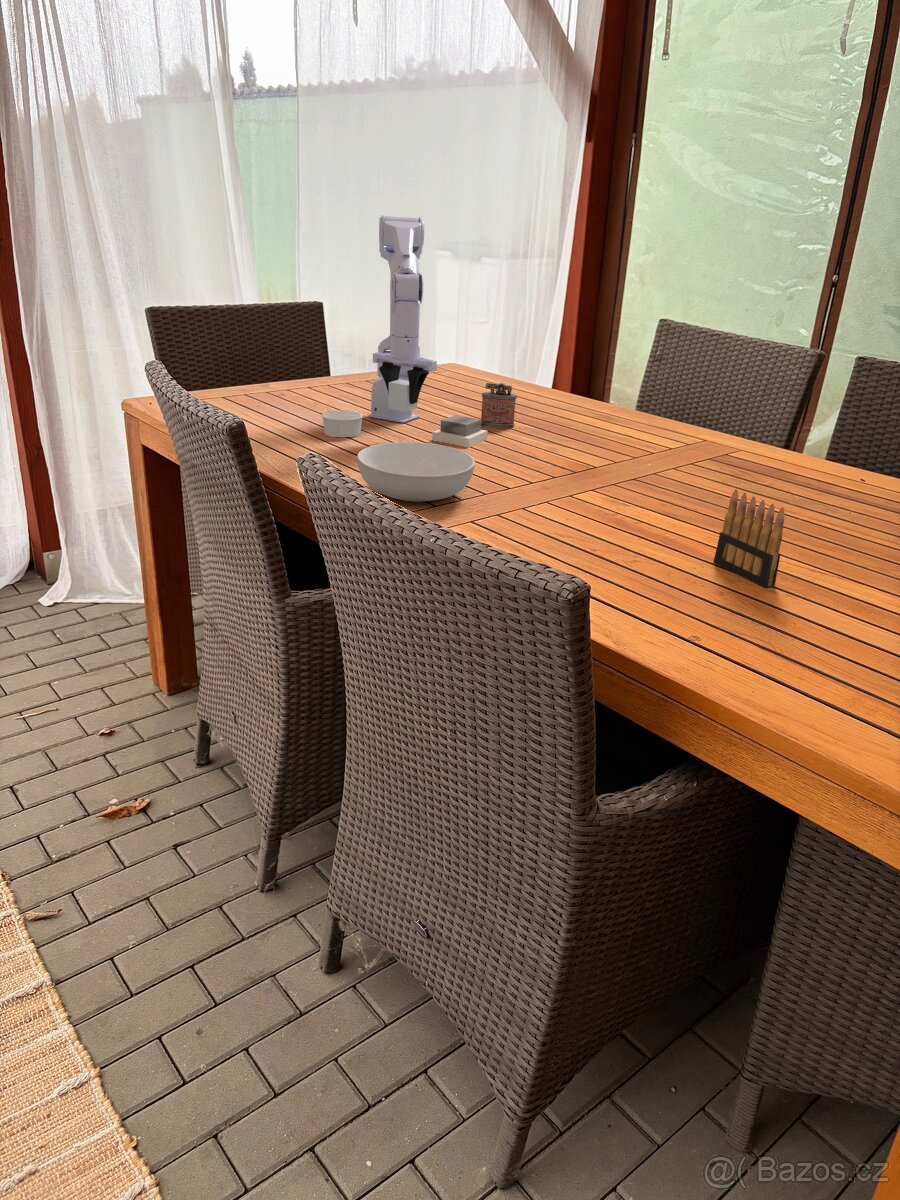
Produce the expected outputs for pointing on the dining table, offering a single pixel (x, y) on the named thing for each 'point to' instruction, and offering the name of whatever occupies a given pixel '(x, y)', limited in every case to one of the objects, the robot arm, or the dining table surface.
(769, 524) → the ammunition clip
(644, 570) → the dining table surface
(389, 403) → the gray block
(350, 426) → the ramekin
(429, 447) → the serving bowl
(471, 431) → the gray slab
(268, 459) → the dining table surface
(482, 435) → the base slab
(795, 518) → the dining table surface
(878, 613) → the dining table surface
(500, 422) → the lighter
